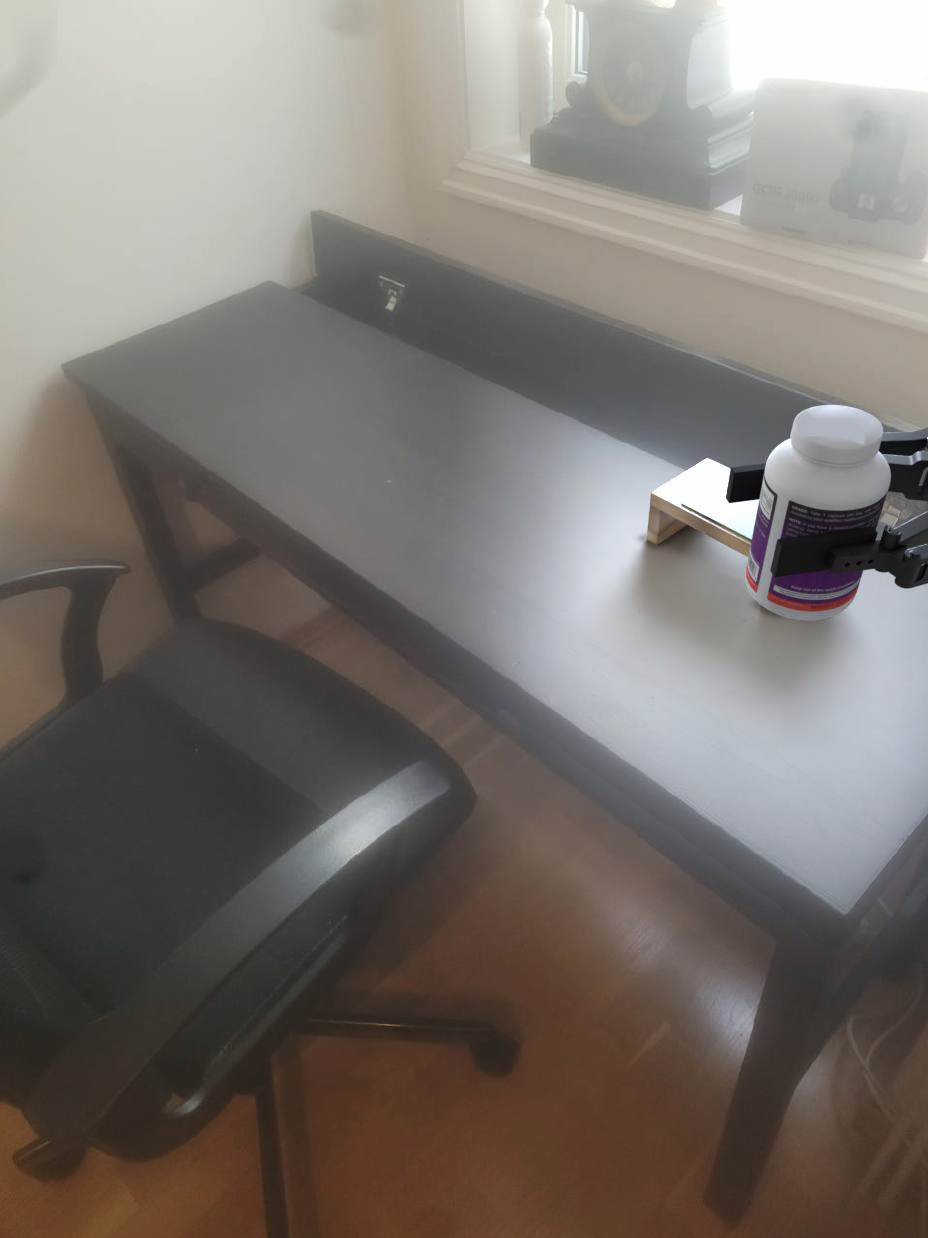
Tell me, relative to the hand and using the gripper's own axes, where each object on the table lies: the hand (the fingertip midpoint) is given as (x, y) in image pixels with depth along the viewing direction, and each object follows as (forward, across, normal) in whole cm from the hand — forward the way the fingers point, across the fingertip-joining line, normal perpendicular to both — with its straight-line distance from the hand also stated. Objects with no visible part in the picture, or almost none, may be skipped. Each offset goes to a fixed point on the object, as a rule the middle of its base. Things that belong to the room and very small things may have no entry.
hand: (751, 520), depth 61 cm
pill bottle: (-5, 0, -8) cm, 9 cm away
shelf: (-9, +20, -20) cm, 30 cm away
